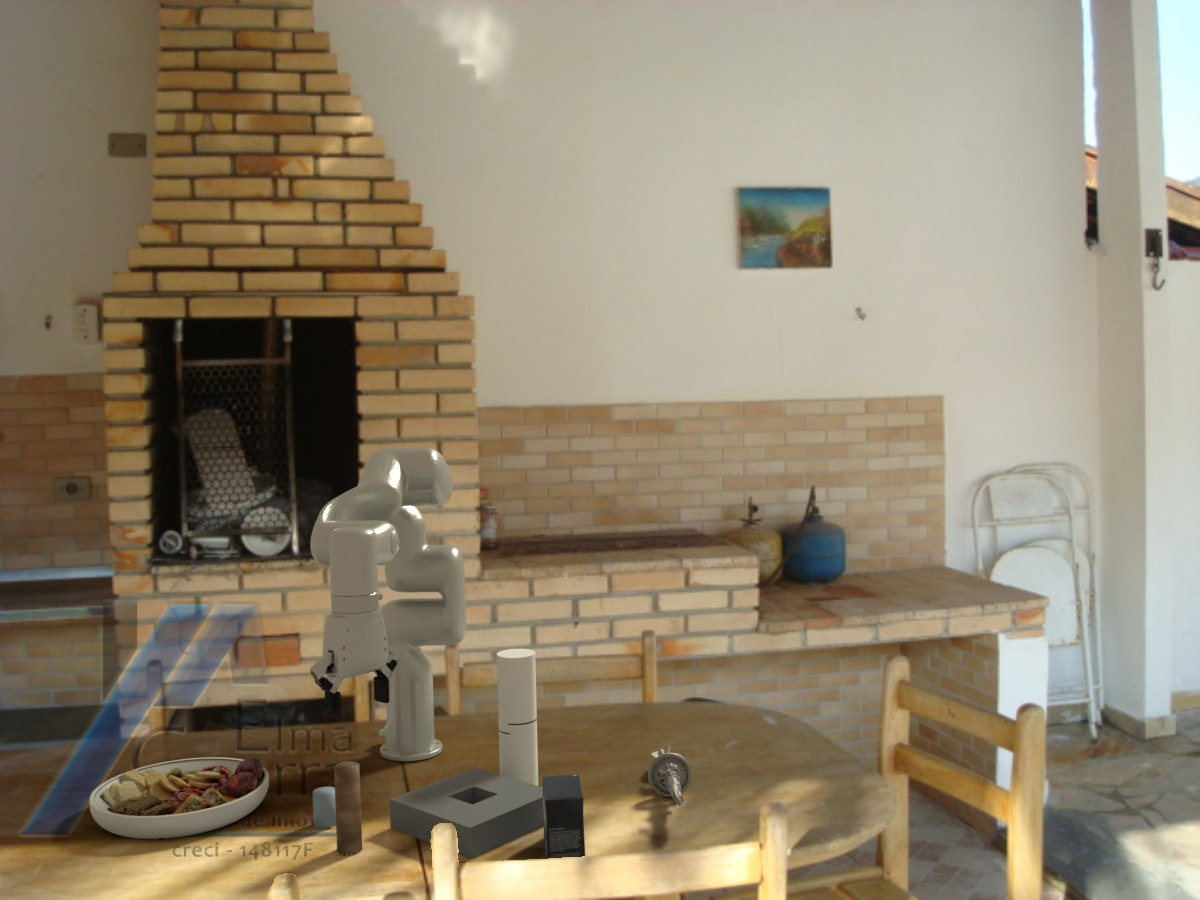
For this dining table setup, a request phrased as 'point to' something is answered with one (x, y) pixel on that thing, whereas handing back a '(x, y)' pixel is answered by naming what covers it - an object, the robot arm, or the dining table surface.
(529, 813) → the collar block
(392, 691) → the robot arm
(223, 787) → the bowl
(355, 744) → the dining table surface
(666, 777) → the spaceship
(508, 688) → the cylindrical container
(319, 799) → the short pin
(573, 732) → the dining table surface
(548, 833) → the small box
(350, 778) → the long pin
